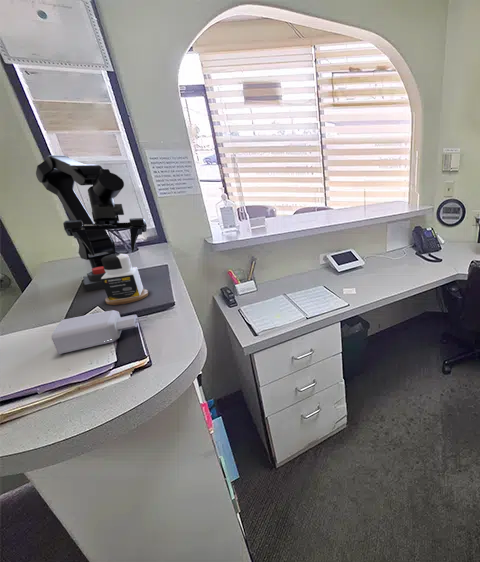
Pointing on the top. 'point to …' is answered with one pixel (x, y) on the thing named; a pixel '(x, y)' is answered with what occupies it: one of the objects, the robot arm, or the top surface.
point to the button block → (93, 281)
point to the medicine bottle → (120, 278)
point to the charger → (91, 330)
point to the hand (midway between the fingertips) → (113, 253)
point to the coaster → (129, 300)
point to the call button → (98, 270)
